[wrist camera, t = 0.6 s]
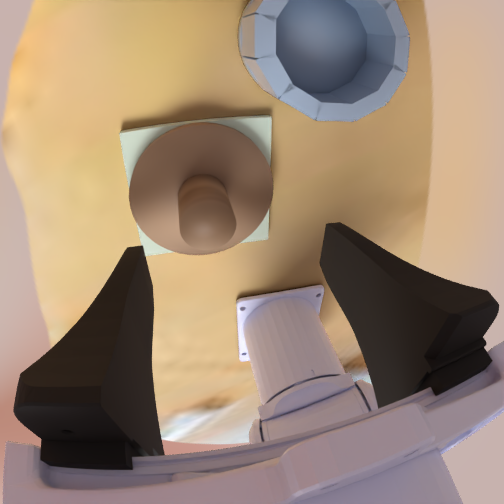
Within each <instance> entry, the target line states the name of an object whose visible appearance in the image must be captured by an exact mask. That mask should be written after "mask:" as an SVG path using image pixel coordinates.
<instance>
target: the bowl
mask: <svg viewBox="0 0 504 504" xmlns="http://www.w3.org/2000/svg"><path fill="white" fill-rule="evenodd" d="M408 35H409V32H408V29H407V27H406V24H405V22H404V19H403V17H402V14H401V12H400V9H399V7H398V5H397V2H396V0H250V1H249V2H248V4H247V5H246V7H245V9H244V11H243V13H242V16H241V18H240V22H239V27H238V47H239V52H240V56H241V58H242V61H243V64H244V66H245V67H246V69H247V71H248V73H249V74H250V76H251V77H252V78H253V80H254V81H255V82H256V83H257V84H258V85H259V86H260V87H261V88H262V89H263V90H264V91H266V92H267V93H269V94H271V95H272V96H274V97H275V98H277V99H279V100H281V101H283V102H285V103H286V104H288V105H290V106H292V107H293V108H295V109H297V110H298V111H300V112H302V113H303V114H305V115H307V116H308V117H310V118H312V119H313V120H316V121H351V122H354V120H355V121H357V120H359V119H360V118H362V117H364V116H366V115H368V114H370V113H371V112H373V111H375V110H377V109H379V108H381V107H383V106H385V105H386V103H388V102H389V101H390V99H391V97H392V96H393V94H394V93H395V91H396V90H397V88H398V87H399V85H400V83H401V82H402V80H403V79H404V77H405V76H406V74H405V73H404V72H407V67H408V57H409V44H410V37H408Z"/></svg>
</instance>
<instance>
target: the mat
mask: <svg viewBox="0 0 504 504" xmlns="http://www.w3.org/2000/svg"><path fill="white" fill-rule="evenodd" d="M197 122H210V123H218V124H222V125H226V126H229V127H231V128H234V129H236V130H238V131H240V132H241V133H243V134H244V135H246V136H247V137H248V138H250V139H251V140H252V141H253V142H254V143H255V144H256V145H257V147H258V148H259V149H260V151H261V152H262V153H263V155H264V156H265V158H266V160H267V162H268V164H269V166H271V128H272V117H271V116H270V115H258V116H240V117H225V118H213V119H202V120H192V121H183V122H175V123H167V124H160V125H153V126H146V127H140V128H134V129H128V130H122V131H120V133H119V134H120V140H121V147H122V153H123V159H124V164H125V170H126V175H127V180H128V186H129V187H130V181H131V177H132V174H133V170H134V167H135V165H136V163H137V161H138V159H139V157H140V156H141V154H142V153H143V151H144V150H145V149H146V148H147V147H148V146H149V145H150V143H152V142H153V141H154V140H155V139H156V138H158V137H159V136H160V135H162V134H164V133H165V132H167V131H169V130H171V129H173V128H176V127H179V126H182V125H185V124H190V123H197ZM137 228H138V232H139V236H140V240H141V245H142V246H143V248H144V252H145V256H149V255H157V254H164V253H171V252H173V251H170V250H168V249H165V248H163V247H161V246H159V245H158V244H156V243H155V242H153V241H152V240H151V239H150V238H149V237H147V236H146V235H145V233H144V232H143V231H142V230H141V229H140V227H139V226H138V224H137ZM268 229H269V210H268V212H267V214H266V216H265V218H264V220H263V221H262V222H261V224H260V225H259V227H258V228H257V229H256V230H255V231H254V232H253V233H252V234H251V235H250V236H248V237H247V238H246V239H245V240H243V241H242V242H240V243H245V242H253V241H260V240H268Z"/></svg>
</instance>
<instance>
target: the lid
mask: <svg viewBox="0 0 504 504" xmlns="http://www.w3.org/2000/svg"><path fill="white" fill-rule="evenodd" d="M272 196H273V178H272V172H271V169H270V166H269V164H268V162H267V160H266V158H265V156H264V155H263V153H262V152H261V151H260V149H259V148H258V147H257V145H256V144H255V143H254V142H253V141H252V140H251V139H250V138H248V137H247V136H246V135H244V134H243V133H241V132H240V131H238V130H236V129H234V128H231V127H229V126H226V125H222V124H218V123H210V122H197V123H190V124H185V125H182V126H179V127H176V128H173V129H171V130H169V131H167V132H165V133H164V134H162V135H160V136H159V137H158V138H156V139H155V140H154V141H153V142H152V143H150V145H149V146H148V147H147V148H146V149H145V150H144V151H143V153H142V154H141V156H140V157H139V159H138V161H137V163H136V165H135V167H134V170H133V174H132V177H131V181H130V187H129V201H130V207H131V211H132V214H133V216H134V219H135V221H136V223H137V224H138V226H139V227H140V229H141V230H142V231H143V232H144V233H145V235H146V236H147V237H149V238H150V239H151V240H152V241H153V242H155V243H156V244H158V245H159V246H161V247H163V248H165V249H168V250H170V251H173V252H177V253H181V254H187V255H207V254H212V253H217V252H220V251H224V250H226V249H229V248H231V247H233V246H235V245H237V244H239V243H240V242H242V241H243V240H245V239H246V238H247V237H248V236H250V235H251V234H252V233H253V232H254V231H255V230H256V229H257V228H258V227H259V225H260V224H261V222H262V221H263V220H264V218H265V216H266V214H267V212H268V210H269V207H270V204H271V200H272Z"/></svg>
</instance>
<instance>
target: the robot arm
mask: <svg viewBox="0 0 504 504" xmlns="http://www.w3.org/2000/svg"><path fill="white" fill-rule="evenodd" d="M320 266H321V268H322V271H323V274H324V276H325V279H326V281H327V283H328V285H329V287H330V289H331V291H332V293H333V294H334V296H335V298H336V300H337V302H338V303H339V305H340V307H341V309H342V310H343V312H344V314H345V316H346V318H347V319H348V321H349V323H350V325H351V327H352V329H353V331H354V333H355V336H356V338H357V341H358V343H359V346H360V348H361V351H362V354H363V357H364V360H365V363H366V365H367V368H368V372H369V375H370V378H371V382H372V385H373V386H372V385H371V384H370V383H367V382H365V381H363V380H358V381H356V382H354V381H353V379H352V377H351V375H350V373H349V372H348V373H345V371H344V369H343V367H342V365H341V362H340V360H339V358H338V356H337V354H336V352H335V350H334V347H333V345H332V343H331V341H330V339H329V337H328V335H327V333H326V331H325V328H324V326H323V324H322V322H321V320H320V318H319V312H320V308H321V303H322V299H323V294H324V287H323V286H322V285H316V286H310V287H304V288H299V289H293V290H287V291H281V292H275V293H269V294H263V295H257V296H251V297H245V298H240V299H238V300H237V302H236V309H237V328H238V347H239V359H240V361H243V362H244V361H250V363H251V367H252V371H253V374H254V378H255V382H256V385H257V389H258V393H259V396H260V400H261V403H262V406H259V407H258V410H259V414H260V417H261V418H260V419H256V420H254V422H253V424H252V427H251V429H250V432H249V440H250V444H249V445H243V446H238V447H232V448H226V449H218V450H211V451H204V452H196V453H186V454H176V455H165V454H164V450H163V445H162V439H161V434H160V428H159V422H158V416H157V409H156V401H155V393H154V384H153V373H152V339H153V319H154V298H153V285H152V281H151V277H150V273H149V269H148V265H147V261H146V257H145V252H144V248H143V246H135V247H128V248H127V249H126V250H125V252H124V253H123V255H122V257H121V259H120V260H119V262H118V264H117V265H116V267H115V269H114V271H113V272H112V274H111V275H110V277H109V279H108V280H107V282H106V284H105V285H104V287H103V288H102V290H101V291H100V293H99V294H98V295H97V297H96V298H95V300H94V301H93V303H92V304H91V305H90V307H89V308H88V309H87V311H86V312H85V313H84V315H83V316H82V317H81V318H80V319H79V321H78V322H77V323H76V324H75V325H74V326H73V327H72V328H71V329H70V330H69V331H68V333H67V334H66V335H65V336H64V337H63V338H62V339H61V340H60V341H59V342H58V343H57V344H56V345H55V346H54V347H52V348H51V349H50V350H49V351H48V352H47V353H46V354H45V355H43V356H42V357H41V358H40V359H39V360H38V361H36V362H35V363H34V364H32V365H31V366H30V367H28V368H27V369H26V370H25V371H23V372H22V373H21V374H20V378H19V382H18V386H17V392H16V397H15V403H14V414H15V416H16V417H17V419H18V420H19V421H20V422H21V423H22V424H23V425H24V426H26V427H27V428H28V429H29V430H31V431H32V432H33V433H34V434H36V435H37V436H38V437H40V438H41V439H42V440H41V447H38V446H35V445H32V444H25V443H18V442H11V441H8V442H6V449H5V460H4V476H3V478H4V479H3V504H463V503H462V500H461V498H460V496H459V493H458V491H457V489H456V487H455V484H454V482H453V480H452V478H451V475H450V473H449V471H448V469H447V467H446V465H445V462H444V460H443V458H442V456H441V454H443V453H444V452H446V451H448V450H449V449H451V448H452V447H454V446H456V445H457V444H459V443H460V442H462V441H463V440H465V439H466V438H468V437H469V436H471V435H472V434H474V433H475V432H477V431H478V430H480V429H481V428H482V427H484V426H485V425H486V424H488V423H489V422H491V421H492V420H493V419H495V418H496V417H497V416H499V415H500V414H501V413H503V412H504V341H503V342H501V343H500V344H498V345H496V346H494V347H493V348H491V349H490V350H489V351H488V352H487V351H486V350H485V349H484V346H485V345H486V341H485V340H484V338H483V336H484V334H485V333H486V332H487V330H488V329H489V327H490V326H491V324H492V323H493V321H494V320H495V318H496V316H497V313H498V311H499V304H498V302H497V301H496V300H495V299H494V298H493V297H492V295H491V294H490V293H489V292H488V291H487V290H482V289H478V288H474V287H470V286H466V285H462V284H459V283H456V282H452V281H450V280H447V279H444V278H441V277H439V276H436V275H434V274H431V273H429V272H426V271H424V270H422V269H420V268H418V267H416V266H414V265H412V264H410V263H408V262H406V261H404V260H402V259H400V258H398V257H397V256H395V255H393V254H391V253H390V252H388V251H386V250H385V249H383V248H381V247H380V246H378V245H376V244H375V243H373V242H372V241H370V240H369V239H367V238H365V237H364V236H362V235H361V234H359V233H357V232H356V231H354V230H353V229H351V228H349V227H348V226H346V225H344V224H342V223H340V222H338V223H328V224H326V228H325V235H324V241H323V247H322V252H321V258H320ZM241 307H242V308H241Z"/></svg>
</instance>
